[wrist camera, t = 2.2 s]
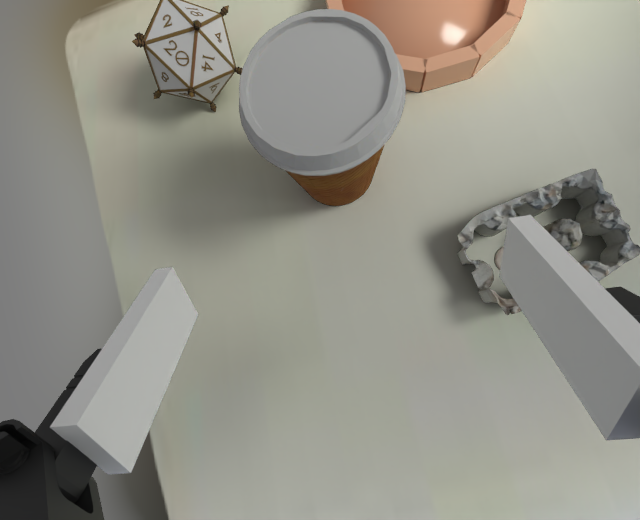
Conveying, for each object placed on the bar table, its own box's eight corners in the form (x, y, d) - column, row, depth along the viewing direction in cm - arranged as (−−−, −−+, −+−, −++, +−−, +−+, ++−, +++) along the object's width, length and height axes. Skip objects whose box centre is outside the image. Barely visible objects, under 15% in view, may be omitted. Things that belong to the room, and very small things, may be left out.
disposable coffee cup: (295, 236, 30) (246, 185, 18) (275, 136, 31) (218, 31, 19) (405, 209, 29) (430, 136, 17) (377, 108, 30) (383, -22, 18)
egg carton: (484, 319, 27) (504, 321, 23) (443, 233, 28) (455, 220, 24) (620, 267, 26) (666, 260, 22) (570, 181, 27) (605, 158, 23)
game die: (244, 104, 36) (277, 61, 28) (173, 139, 33) (183, 104, 25) (194, 16, 34) (212, -63, 25) (112, 47, 31) (98, -30, 22)
